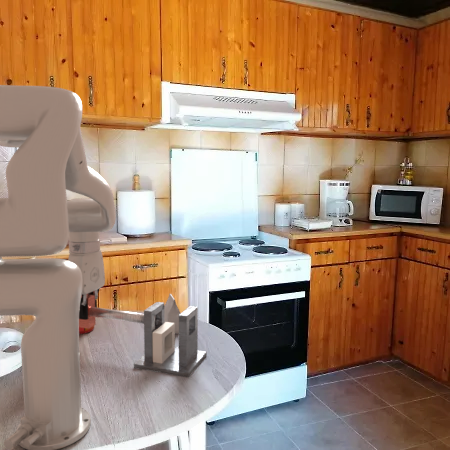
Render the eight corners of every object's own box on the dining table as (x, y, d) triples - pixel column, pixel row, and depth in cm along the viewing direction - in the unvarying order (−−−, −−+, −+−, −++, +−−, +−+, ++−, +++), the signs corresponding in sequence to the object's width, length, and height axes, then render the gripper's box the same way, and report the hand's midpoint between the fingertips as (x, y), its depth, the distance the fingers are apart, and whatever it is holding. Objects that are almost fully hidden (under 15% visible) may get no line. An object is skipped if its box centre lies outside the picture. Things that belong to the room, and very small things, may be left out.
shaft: (151, 337, 105) (151, 306, 103) (78, 327, 111) (77, 297, 110) (157, 333, 107) (157, 302, 106) (85, 323, 114) (84, 293, 113)
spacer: (161, 363, 102) (161, 333, 101) (152, 362, 103) (152, 332, 102) (174, 350, 109) (174, 323, 108) (166, 349, 110) (165, 321, 109)
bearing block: (188, 377, 98) (188, 320, 96) (133, 367, 102) (133, 313, 100) (206, 355, 109) (206, 304, 107) (156, 347, 113) (156, 298, 111)
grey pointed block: (167, 334, 122) (167, 300, 121) (164, 326, 129) (163, 293, 127) (180, 333, 123) (180, 299, 122) (176, 324, 130) (176, 292, 128)
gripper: (76, 254, 100) (79, 329, 103) (115, 242, 116) (116, 308, 118) (50, 251, 102) (53, 325, 105) (91, 240, 118) (93, 305, 120)
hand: (86, 315), depth 111 cm, fingers closed on shaft, 3 cm apart
